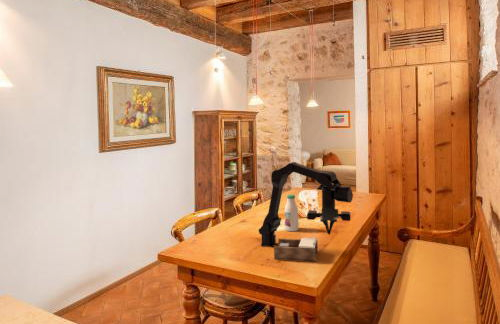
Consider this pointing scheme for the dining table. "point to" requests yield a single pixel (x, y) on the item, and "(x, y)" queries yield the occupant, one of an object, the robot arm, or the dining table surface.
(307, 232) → the dining table surface
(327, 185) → the robot arm
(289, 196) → the milk bottle
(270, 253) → the dining table surface
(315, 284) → the dining table surface
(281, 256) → the box
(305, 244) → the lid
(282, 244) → the block
